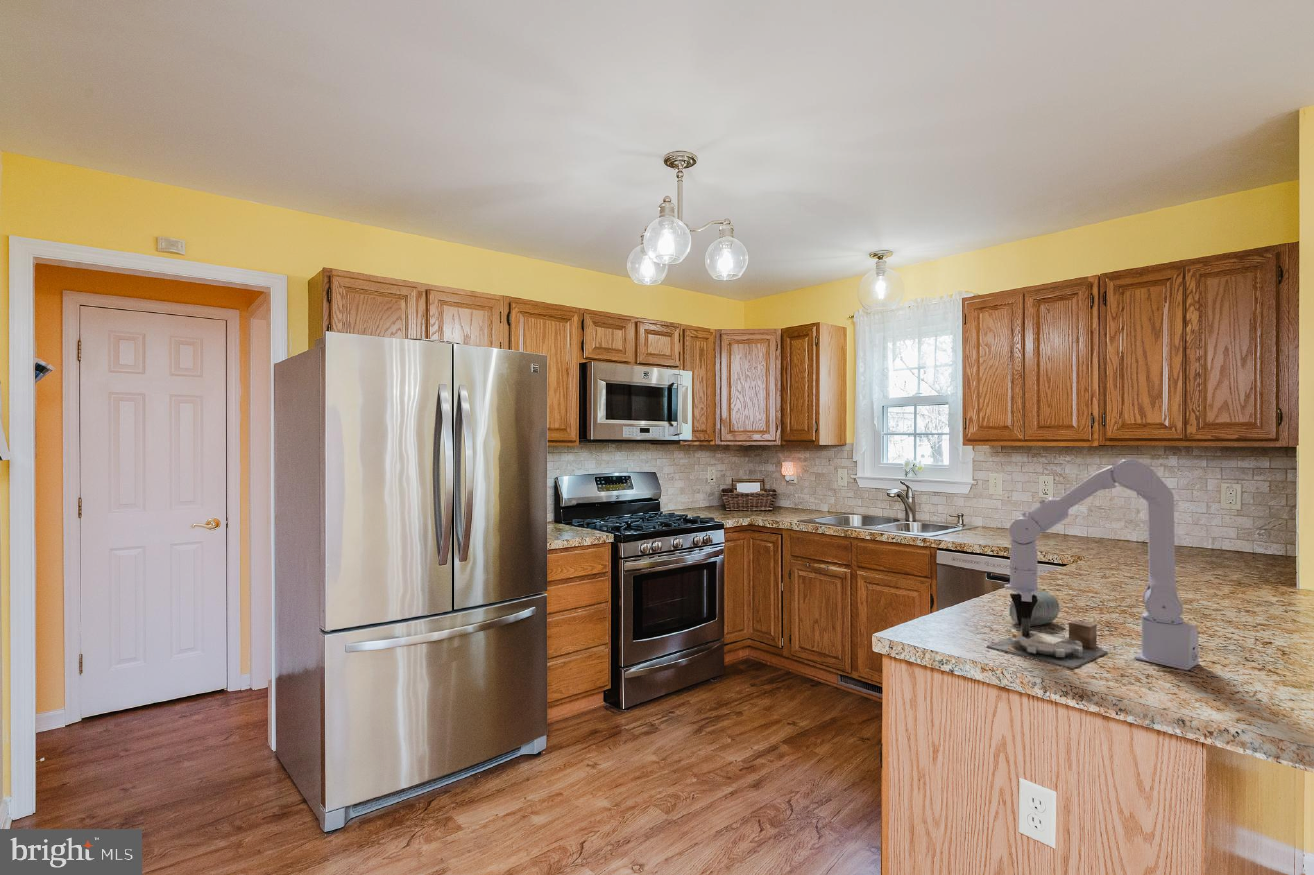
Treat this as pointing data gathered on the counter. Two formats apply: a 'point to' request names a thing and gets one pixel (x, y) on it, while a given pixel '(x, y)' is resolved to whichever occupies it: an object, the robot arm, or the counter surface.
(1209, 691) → the counter surface
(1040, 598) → the grey oval stone
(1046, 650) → the sprocket
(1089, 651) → the plate
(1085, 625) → the link block
